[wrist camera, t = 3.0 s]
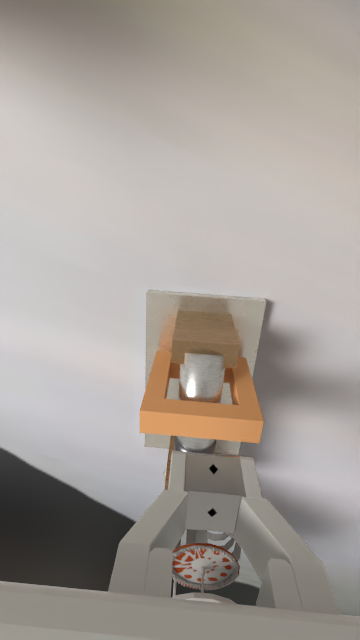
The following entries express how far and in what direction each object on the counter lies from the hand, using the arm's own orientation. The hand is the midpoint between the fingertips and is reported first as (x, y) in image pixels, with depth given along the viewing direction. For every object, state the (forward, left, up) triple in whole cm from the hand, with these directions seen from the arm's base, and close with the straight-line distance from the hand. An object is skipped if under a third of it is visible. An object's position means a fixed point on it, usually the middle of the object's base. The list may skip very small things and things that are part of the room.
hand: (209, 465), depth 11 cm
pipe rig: (0, +9, -18) cm, 20 cm away
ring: (0, +6, -17) cm, 18 cm away
